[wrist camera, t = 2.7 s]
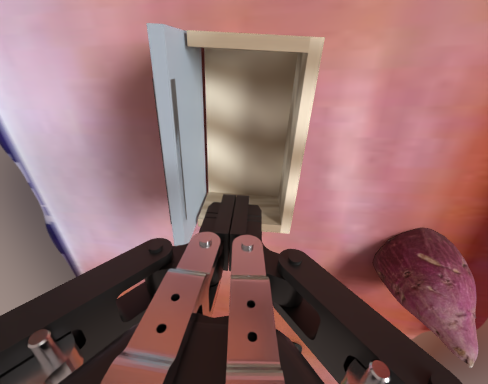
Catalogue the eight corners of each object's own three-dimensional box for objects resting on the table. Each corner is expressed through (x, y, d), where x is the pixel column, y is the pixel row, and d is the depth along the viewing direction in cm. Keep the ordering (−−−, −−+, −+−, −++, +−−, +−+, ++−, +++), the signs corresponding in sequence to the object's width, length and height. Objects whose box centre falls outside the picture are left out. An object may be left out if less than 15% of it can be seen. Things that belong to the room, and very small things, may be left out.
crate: (206, 36, 24) (186, 30, 18) (308, 41, 23) (324, 37, 17) (210, 194, 33) (198, 226, 27) (284, 199, 32) (289, 233, 26)
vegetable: (417, 264, 41) (485, 374, 30) (359, 264, 40) (407, 379, 29) (462, 225, 33) (573, 354, 23) (391, 224, 32) (472, 358, 22)
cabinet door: (188, 34, 23) (143, 23, 14) (200, 35, 23) (163, 24, 14) (197, 197, 32) (173, 250, 23) (206, 198, 32) (185, 251, 23)
